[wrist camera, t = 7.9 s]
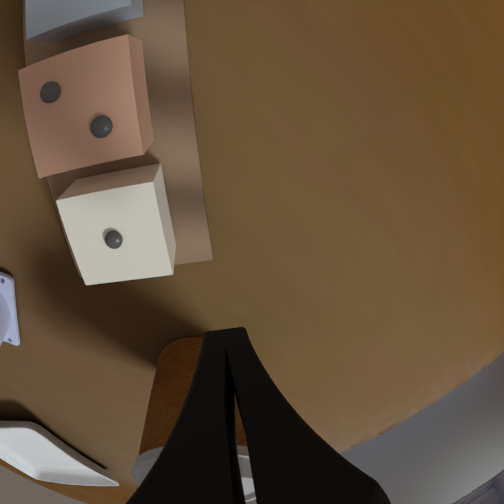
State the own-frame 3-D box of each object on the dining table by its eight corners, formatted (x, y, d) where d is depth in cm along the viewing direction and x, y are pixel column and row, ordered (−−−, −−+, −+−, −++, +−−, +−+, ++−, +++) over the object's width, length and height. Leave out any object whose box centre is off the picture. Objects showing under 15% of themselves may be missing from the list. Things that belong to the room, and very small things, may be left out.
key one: (176, 244, 19) (172, 276, 16) (98, 255, 18) (84, 287, 16) (160, 163, 16) (152, 183, 13) (76, 179, 16) (54, 202, 13)
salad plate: (123, 470, 40) (122, 488, 37) (38, 467, 40) (36, 481, 37) (36, 406, 29) (30, 429, 26) (-42, 407, 29) (-47, 423, 26)
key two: (153, 139, 14) (142, 156, 12) (63, 159, 14) (36, 180, 11) (142, 41, 12) (126, 33, 9) (47, 68, 11) (15, 70, 9)
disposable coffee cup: (123, 330, 23) (103, 474, 13) (243, 311, 24) (273, 463, 14) (161, 396, 28) (162, 510, 18) (258, 382, 29) (282, 498, 19)
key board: (212, 251, 21) (214, 281, 18) (84, 268, 20) (70, 298, 17) (180, -78, 9) (177, -103, 7) (31, -35, 9) (6, -47, 6)
